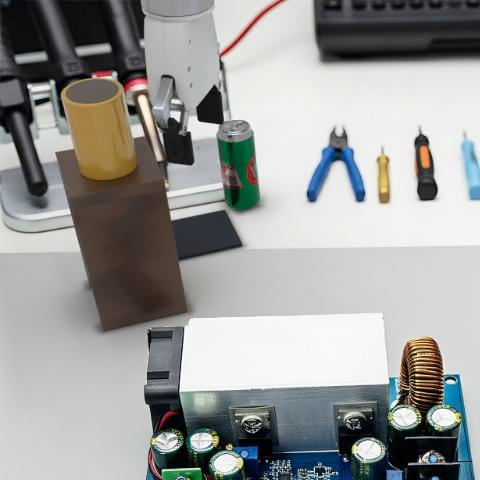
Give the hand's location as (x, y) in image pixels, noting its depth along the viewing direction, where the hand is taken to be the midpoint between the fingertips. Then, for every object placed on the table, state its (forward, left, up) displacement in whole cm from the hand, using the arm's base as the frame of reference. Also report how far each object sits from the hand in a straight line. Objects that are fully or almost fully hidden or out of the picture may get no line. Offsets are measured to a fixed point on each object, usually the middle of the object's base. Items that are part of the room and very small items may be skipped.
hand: (196, 142), depth 115 cm
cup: (-10, 0, -1) cm, 10 cm away
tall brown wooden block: (-10, 0, -20) cm, 23 cm away
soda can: (+8, +17, -20) cm, 28 cm away
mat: (+1, +11, -20) cm, 23 cm away
